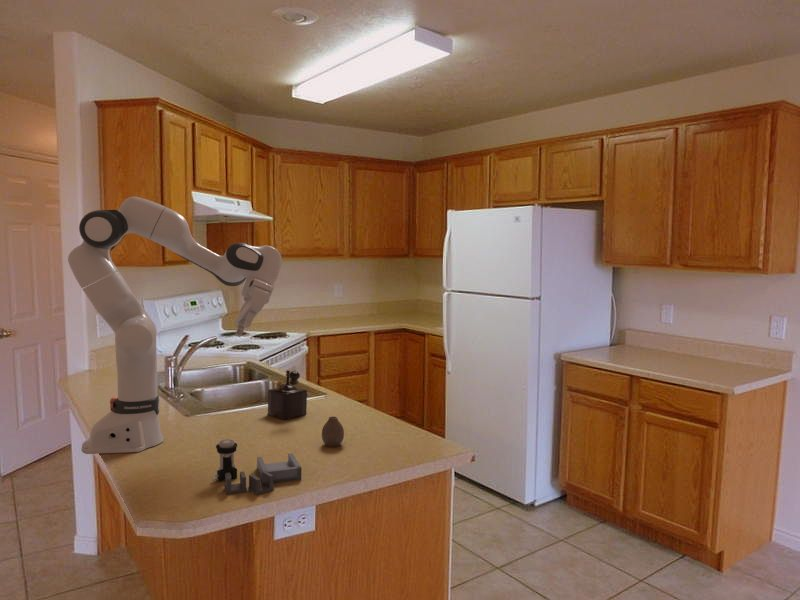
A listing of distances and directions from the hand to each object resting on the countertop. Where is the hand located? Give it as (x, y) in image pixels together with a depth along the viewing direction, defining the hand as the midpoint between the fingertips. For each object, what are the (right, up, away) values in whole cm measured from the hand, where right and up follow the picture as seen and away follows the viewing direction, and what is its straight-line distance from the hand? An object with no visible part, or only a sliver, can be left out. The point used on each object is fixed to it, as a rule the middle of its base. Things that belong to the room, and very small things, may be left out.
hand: (242, 331), depth 176 cm
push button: (+2, -38, -25) cm, 45 cm away
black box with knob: (+8, -33, +34) cm, 48 cm away
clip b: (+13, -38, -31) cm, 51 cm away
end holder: (+15, -37, -20) cm, 45 cm away
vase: (+27, -36, +4) cm, 45 cm away
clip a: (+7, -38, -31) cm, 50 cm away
